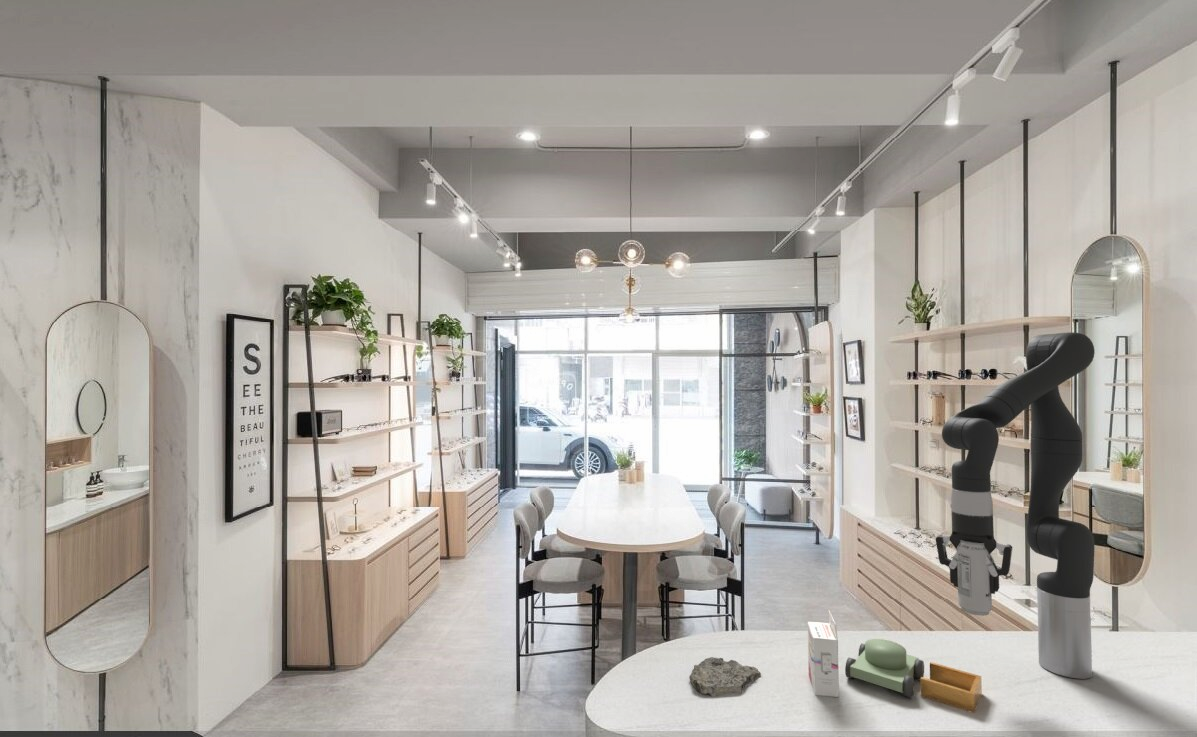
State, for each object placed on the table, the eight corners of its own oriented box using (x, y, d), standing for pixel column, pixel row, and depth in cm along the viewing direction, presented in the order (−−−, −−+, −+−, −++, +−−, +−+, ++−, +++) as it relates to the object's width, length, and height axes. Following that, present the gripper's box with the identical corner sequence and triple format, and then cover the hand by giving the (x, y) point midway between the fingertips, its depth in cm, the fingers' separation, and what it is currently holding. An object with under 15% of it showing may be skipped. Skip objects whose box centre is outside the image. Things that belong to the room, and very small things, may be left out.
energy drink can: (996, 618, 117) (993, 545, 118) (962, 614, 119) (960, 542, 120) (987, 607, 123) (985, 537, 123) (955, 604, 125) (953, 535, 125)
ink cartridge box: (807, 674, 124) (806, 606, 124) (831, 677, 123) (830, 608, 123) (813, 695, 116) (813, 622, 116) (839, 698, 115) (838, 624, 115)
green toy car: (864, 657, 132) (864, 629, 132) (924, 675, 123) (924, 645, 124) (844, 681, 121) (844, 650, 121) (908, 702, 113) (908, 669, 113)
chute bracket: (930, 678, 122) (930, 661, 122) (981, 693, 116) (981, 676, 116) (920, 695, 115) (920, 678, 116) (974, 712, 109) (973, 694, 109)
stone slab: (673, 685, 120) (673, 671, 120) (715, 657, 133) (715, 644, 133) (725, 709, 112) (725, 694, 112) (764, 676, 124) (764, 662, 124)
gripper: (1014, 512, 120) (1017, 592, 119) (937, 503, 129) (939, 577, 129) (1010, 518, 114) (1013, 602, 114) (930, 509, 124) (932, 586, 123)
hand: (974, 588), depth 121 cm, fingers closed on energy drink can, 6 cm apart
